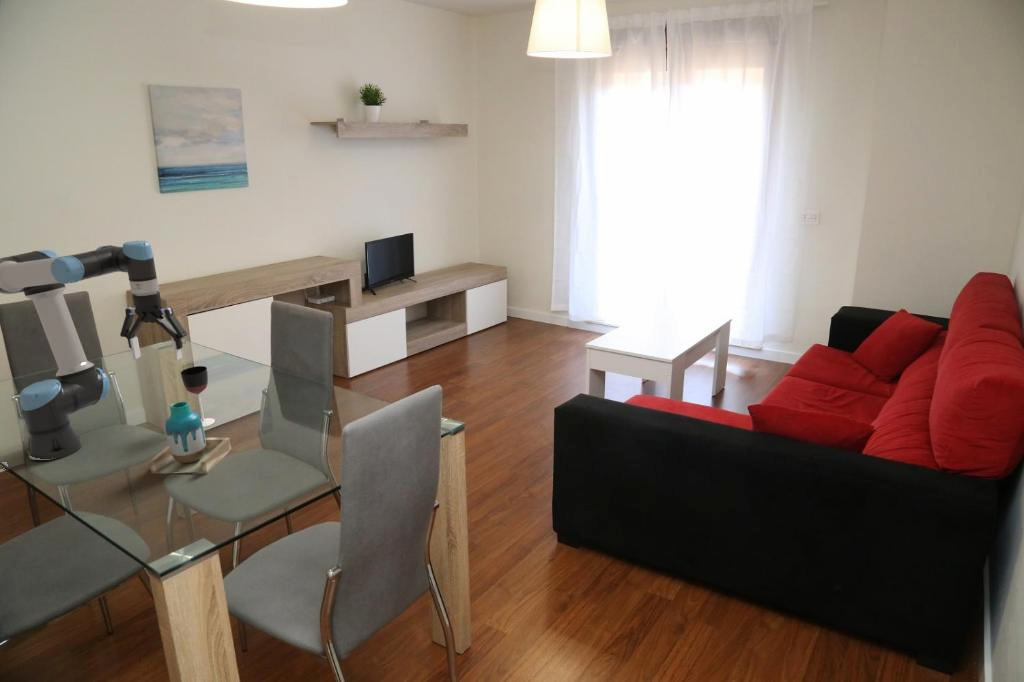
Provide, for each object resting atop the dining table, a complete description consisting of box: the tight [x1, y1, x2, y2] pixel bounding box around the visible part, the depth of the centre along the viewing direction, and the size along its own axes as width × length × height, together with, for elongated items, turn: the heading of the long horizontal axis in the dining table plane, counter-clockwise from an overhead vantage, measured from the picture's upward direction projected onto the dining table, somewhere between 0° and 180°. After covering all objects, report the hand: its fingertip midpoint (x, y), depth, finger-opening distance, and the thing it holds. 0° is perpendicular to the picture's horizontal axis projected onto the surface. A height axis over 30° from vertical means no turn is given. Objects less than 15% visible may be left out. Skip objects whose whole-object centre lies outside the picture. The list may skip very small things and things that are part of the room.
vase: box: [164, 400, 206, 463], centre depth 218 cm, size 11×11×19 cm
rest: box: [148, 437, 232, 475], centre depth 221 cm, size 18×16×4 cm
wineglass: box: [180, 365, 216, 428], centre depth 246 cm, size 8×9×20 cm
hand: (158, 358), depth 218 cm, fingers open, 13 cm apart
